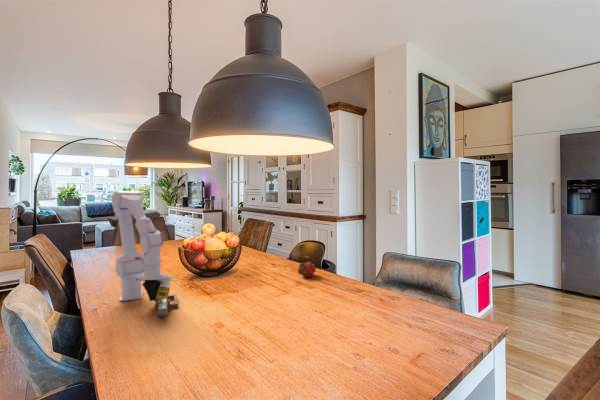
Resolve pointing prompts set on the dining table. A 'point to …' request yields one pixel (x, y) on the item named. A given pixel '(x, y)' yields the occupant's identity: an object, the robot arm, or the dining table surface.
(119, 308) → the dining table surface
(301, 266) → the dragon fruit
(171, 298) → the mount
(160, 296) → the supplement bottle
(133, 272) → the robot arm
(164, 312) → the lock pin
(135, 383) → the dining table surface
